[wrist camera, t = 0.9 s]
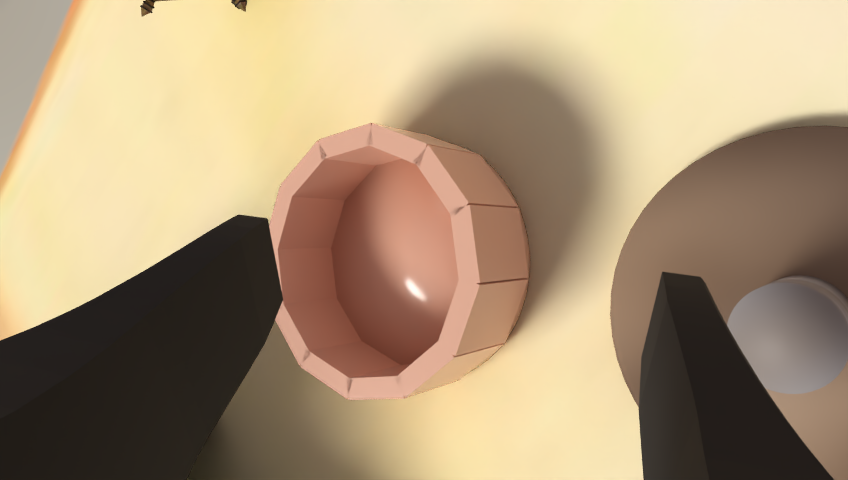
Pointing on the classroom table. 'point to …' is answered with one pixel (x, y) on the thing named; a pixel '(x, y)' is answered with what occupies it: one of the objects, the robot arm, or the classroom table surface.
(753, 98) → the classroom table surface
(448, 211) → the pink round pot
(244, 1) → the game die
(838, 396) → the lid
